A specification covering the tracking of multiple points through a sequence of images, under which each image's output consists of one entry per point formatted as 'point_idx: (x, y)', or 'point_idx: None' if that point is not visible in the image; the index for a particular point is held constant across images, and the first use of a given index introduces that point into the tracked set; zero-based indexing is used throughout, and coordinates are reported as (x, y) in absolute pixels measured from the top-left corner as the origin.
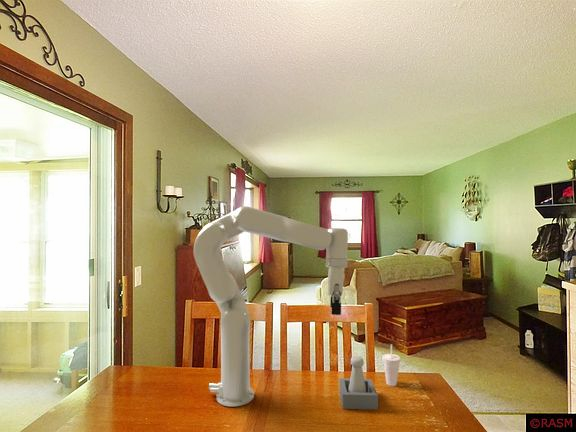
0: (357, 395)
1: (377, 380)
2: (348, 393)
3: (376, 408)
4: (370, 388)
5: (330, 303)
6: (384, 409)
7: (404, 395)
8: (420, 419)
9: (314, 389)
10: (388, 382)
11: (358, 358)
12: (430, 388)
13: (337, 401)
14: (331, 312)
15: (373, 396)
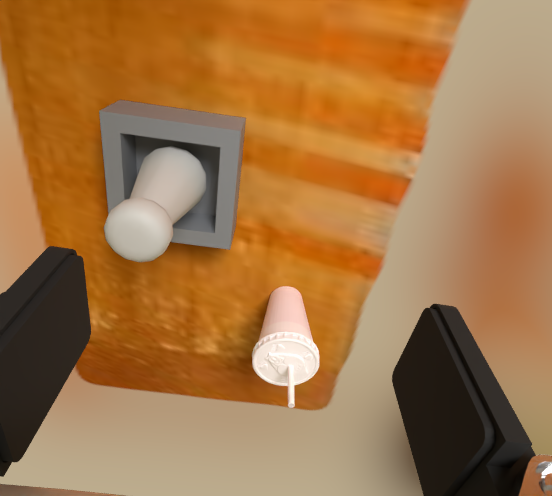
0: (105, 166)
1: (312, 268)
2: (110, 136)
3: None
4: None
5: (462, 337)
6: None
7: (212, 306)
8: (91, 296)
9: (269, 5)
10: (275, 293)
11: (124, 244)
12: (248, 373)
13: (170, 91)
14: (57, 256)
15: None
